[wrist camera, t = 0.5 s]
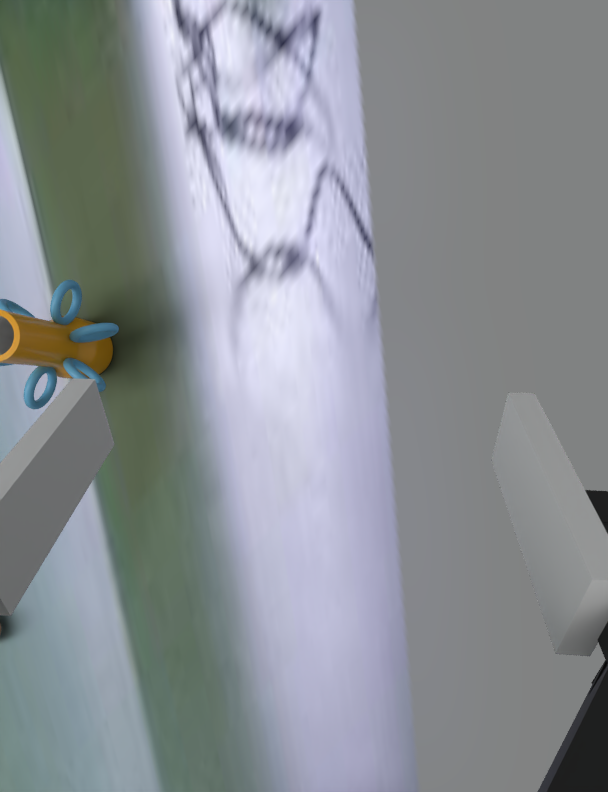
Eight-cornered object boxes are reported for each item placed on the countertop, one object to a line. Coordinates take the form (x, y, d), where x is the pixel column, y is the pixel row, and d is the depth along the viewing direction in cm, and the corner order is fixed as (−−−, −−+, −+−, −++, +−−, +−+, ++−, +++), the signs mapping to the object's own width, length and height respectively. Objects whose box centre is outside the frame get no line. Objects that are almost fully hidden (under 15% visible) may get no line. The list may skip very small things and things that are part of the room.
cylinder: (44, 414, 53) (-65, 425, 38) (16, 318, 53) (-104, 291, 38) (155, 382, 52) (91, 381, 37) (128, 285, 52) (52, 245, 37)
